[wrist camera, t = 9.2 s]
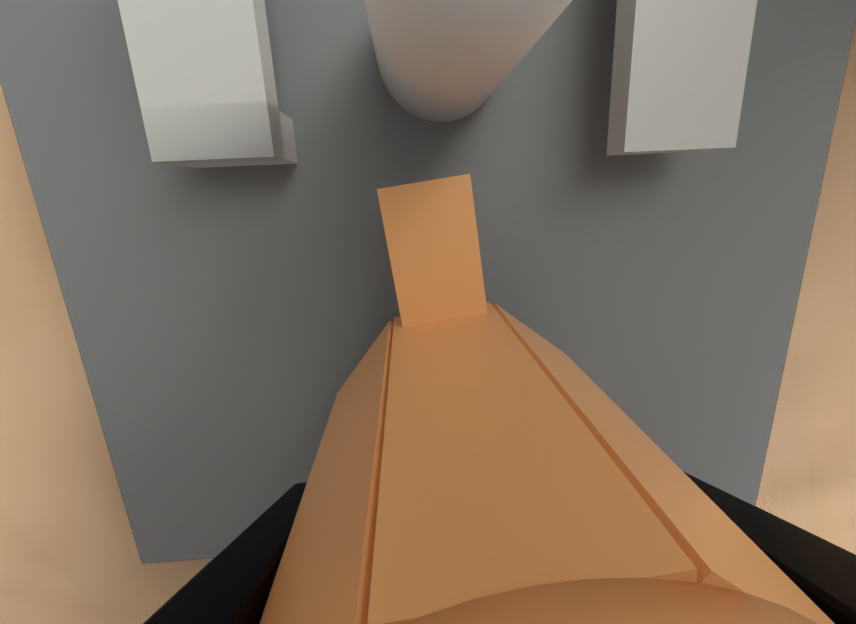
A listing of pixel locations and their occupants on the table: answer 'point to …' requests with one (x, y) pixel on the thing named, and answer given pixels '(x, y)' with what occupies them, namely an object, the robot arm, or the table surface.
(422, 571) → the tan rounded piece
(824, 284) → the table surface
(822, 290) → the table surface
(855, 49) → the table surface
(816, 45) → the stand
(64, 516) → the table surface
